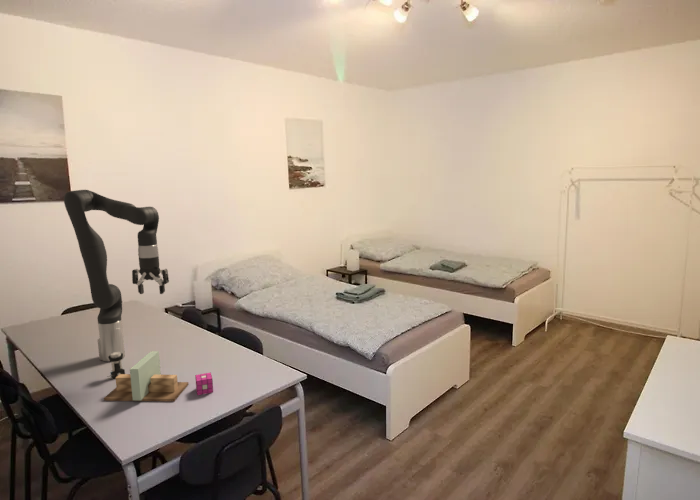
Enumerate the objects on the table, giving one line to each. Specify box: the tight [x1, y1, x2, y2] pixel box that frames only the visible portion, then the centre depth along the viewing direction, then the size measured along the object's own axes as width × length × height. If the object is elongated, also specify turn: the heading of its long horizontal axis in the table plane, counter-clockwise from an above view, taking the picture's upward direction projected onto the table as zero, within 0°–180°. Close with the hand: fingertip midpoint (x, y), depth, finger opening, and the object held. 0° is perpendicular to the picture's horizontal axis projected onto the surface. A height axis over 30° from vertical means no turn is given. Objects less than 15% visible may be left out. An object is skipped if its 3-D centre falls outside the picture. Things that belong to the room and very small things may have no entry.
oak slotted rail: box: [103, 373, 189, 402], centre depth 165 cm, size 26×13×6 cm, turn 88°
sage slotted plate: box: [129, 350, 162, 402], centre depth 164 cm, size 16×3×12 cm, turn 178°
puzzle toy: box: [195, 372, 214, 396], centre depth 166 cm, size 6×6×6 cm
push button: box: [106, 352, 126, 380], centre depth 177 cm, size 7×5×10 cm
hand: (151, 293), depth 183 cm, fingers open, 8 cm apart
